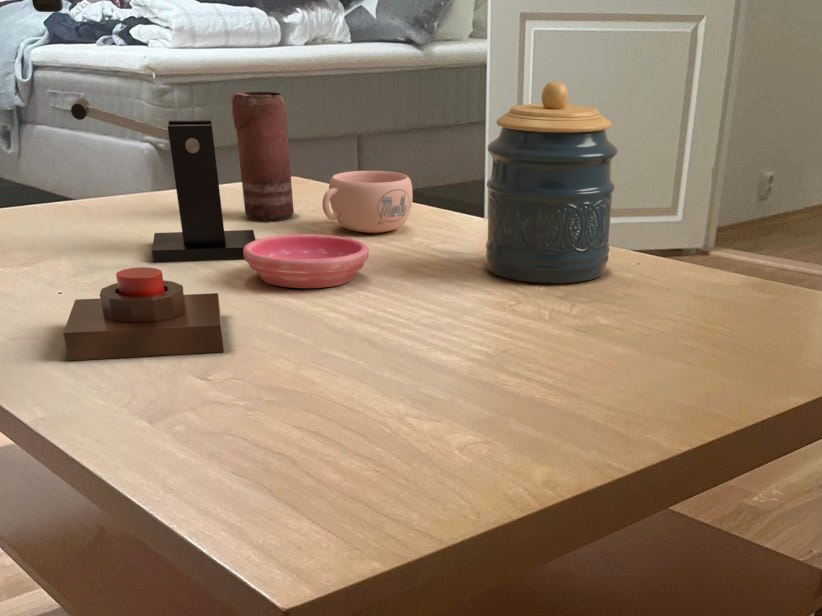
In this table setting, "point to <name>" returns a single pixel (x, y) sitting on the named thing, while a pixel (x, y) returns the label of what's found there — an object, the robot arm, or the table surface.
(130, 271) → the button
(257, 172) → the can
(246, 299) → the table surface
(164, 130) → the lever
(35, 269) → the table surface
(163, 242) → the bracket
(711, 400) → the table surface
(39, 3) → the robot arm
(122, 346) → the control block
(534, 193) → the canister
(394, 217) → the mug
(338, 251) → the pink bowl
